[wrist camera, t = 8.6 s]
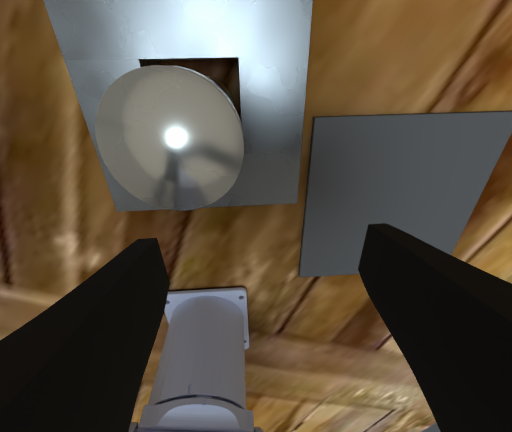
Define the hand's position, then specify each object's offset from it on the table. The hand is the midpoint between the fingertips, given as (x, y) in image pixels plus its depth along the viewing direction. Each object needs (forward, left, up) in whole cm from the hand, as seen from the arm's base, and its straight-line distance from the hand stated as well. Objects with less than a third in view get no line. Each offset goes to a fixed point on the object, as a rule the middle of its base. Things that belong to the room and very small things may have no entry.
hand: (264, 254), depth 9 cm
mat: (-4, -11, -10) cm, 16 cm away
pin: (+4, +3, -10) cm, 11 cm away
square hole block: (+4, +3, -10) cm, 11 cm away
